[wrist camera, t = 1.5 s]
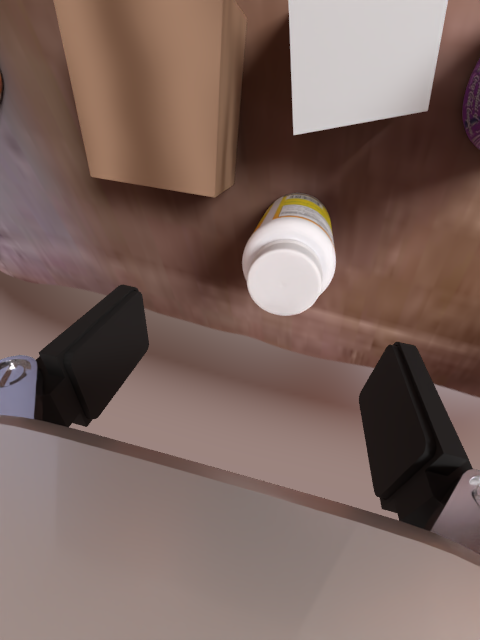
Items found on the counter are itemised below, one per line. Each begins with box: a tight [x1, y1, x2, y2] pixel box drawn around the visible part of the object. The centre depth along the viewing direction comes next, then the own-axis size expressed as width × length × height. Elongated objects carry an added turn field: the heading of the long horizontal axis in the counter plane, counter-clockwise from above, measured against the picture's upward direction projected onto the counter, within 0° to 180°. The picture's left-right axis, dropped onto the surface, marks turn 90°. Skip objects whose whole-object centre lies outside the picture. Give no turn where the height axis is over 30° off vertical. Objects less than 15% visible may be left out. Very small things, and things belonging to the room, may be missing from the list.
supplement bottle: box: [242, 193, 336, 316], centre depth 18 cm, size 6×6×10 cm
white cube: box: [289, 0, 448, 135], centre depth 14 cm, size 6×6×6 cm
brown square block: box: [54, 0, 247, 197], centre depth 17 cm, size 9×9×5 cm
